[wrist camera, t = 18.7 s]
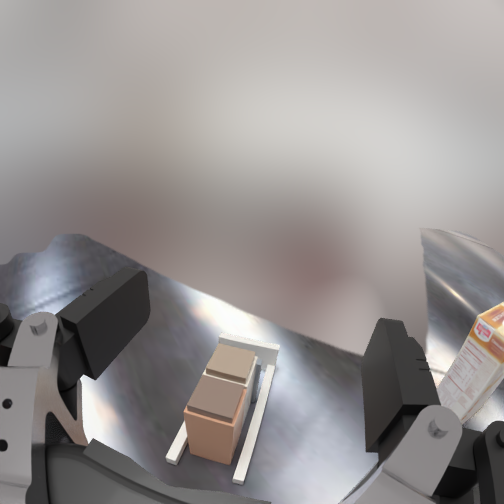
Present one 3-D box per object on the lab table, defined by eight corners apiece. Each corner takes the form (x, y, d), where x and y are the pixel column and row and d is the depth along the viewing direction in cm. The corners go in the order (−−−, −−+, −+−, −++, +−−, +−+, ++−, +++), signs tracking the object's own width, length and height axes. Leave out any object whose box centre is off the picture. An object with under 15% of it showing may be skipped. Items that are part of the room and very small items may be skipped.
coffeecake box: (462, 384, 37) (511, 295, 30) (483, 406, 31) (540, 317, 24) (414, 414, 33) (476, 313, 25) (438, 444, 27) (515, 344, 19)
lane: (242, 484, 24) (246, 470, 22) (167, 462, 25) (161, 444, 23) (275, 367, 43) (279, 345, 41) (220, 355, 45) (221, 332, 43)
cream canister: (240, 432, 31) (248, 381, 27) (204, 422, 32) (202, 368, 28) (250, 405, 36) (258, 350, 32) (216, 396, 37) (217, 340, 32)
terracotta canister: (230, 465, 26) (234, 421, 22) (190, 453, 27) (182, 406, 23) (240, 434, 31) (247, 383, 27) (203, 424, 32) (201, 371, 27)
